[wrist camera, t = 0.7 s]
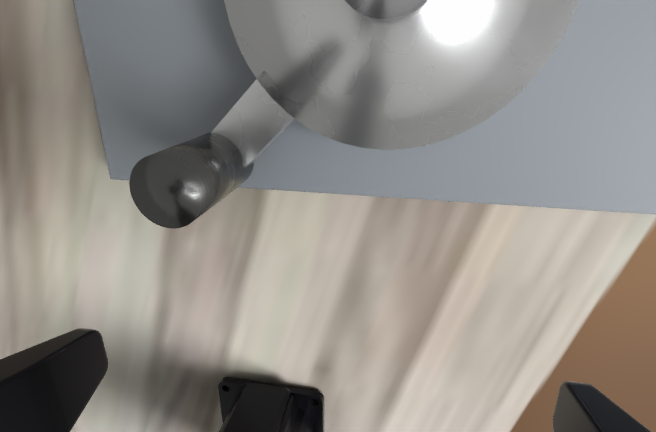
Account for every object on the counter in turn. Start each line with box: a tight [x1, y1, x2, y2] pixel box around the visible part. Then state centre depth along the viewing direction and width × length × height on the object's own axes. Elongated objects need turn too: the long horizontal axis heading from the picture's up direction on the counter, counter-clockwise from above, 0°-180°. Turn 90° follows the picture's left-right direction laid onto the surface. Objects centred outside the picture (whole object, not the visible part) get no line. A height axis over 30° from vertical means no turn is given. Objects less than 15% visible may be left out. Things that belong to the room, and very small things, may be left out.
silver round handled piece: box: [130, 0, 580, 228], centre depth 12 cm, size 16×11×6 cm
